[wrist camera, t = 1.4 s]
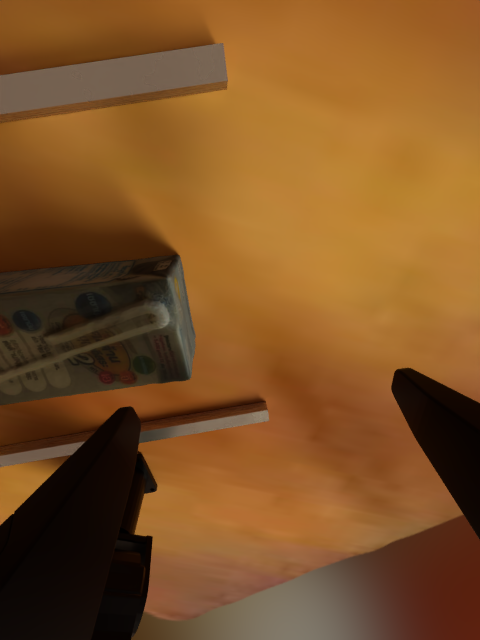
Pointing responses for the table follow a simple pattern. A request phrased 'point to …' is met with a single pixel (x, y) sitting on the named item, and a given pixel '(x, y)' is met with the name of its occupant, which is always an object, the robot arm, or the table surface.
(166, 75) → the bay
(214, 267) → the table surface
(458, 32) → the table surface
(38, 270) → the beverage carton
